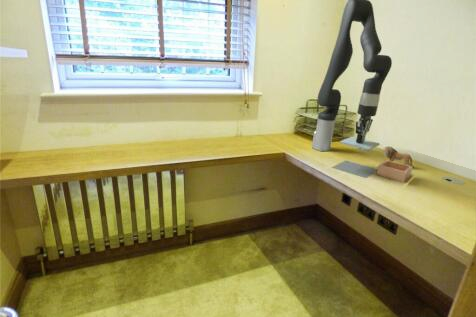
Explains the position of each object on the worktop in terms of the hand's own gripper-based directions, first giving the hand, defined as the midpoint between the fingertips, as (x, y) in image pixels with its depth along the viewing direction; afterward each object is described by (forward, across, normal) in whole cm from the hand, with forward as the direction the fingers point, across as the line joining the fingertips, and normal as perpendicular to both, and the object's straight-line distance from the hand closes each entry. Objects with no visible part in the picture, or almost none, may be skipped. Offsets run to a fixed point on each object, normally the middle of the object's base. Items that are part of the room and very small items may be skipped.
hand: (360, 141), depth 129 cm
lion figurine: (+14, -23, +12) cm, 30 cm away
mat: (+13, 0, 0) cm, 13 cm away
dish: (+13, -6, +16) cm, 21 cm away
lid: (+1, 0, 0) cm, 1 cm away
